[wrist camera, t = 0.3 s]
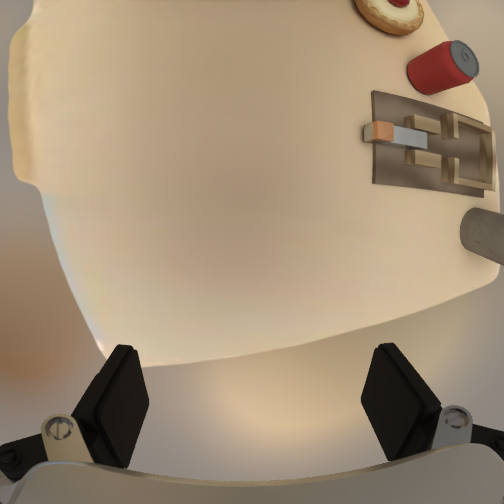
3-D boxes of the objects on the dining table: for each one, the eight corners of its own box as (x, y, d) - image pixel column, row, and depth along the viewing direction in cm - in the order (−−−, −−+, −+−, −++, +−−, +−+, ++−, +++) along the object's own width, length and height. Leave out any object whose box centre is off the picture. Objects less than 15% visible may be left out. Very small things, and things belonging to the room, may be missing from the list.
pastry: (347, 24, 32) (365, -2, 24) (350, -22, 29) (365, -48, 21) (413, 49, 33) (440, 32, 24) (411, 2, 30) (434, -18, 21)
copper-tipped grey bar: (363, 125, 35) (377, 120, 31) (416, 134, 35) (432, 131, 31) (364, 141, 36) (377, 138, 31) (416, 149, 36) (432, 148, 32)
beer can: (439, 73, 34) (482, 56, 22) (433, 102, 35) (480, 89, 24) (409, 52, 33) (449, 28, 21) (402, 82, 34) (446, 61, 23)
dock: (371, 91, 35) (384, 84, 31) (479, 123, 36) (495, 121, 31) (372, 183, 39) (386, 184, 34) (480, 197, 39) (496, 200, 35)
